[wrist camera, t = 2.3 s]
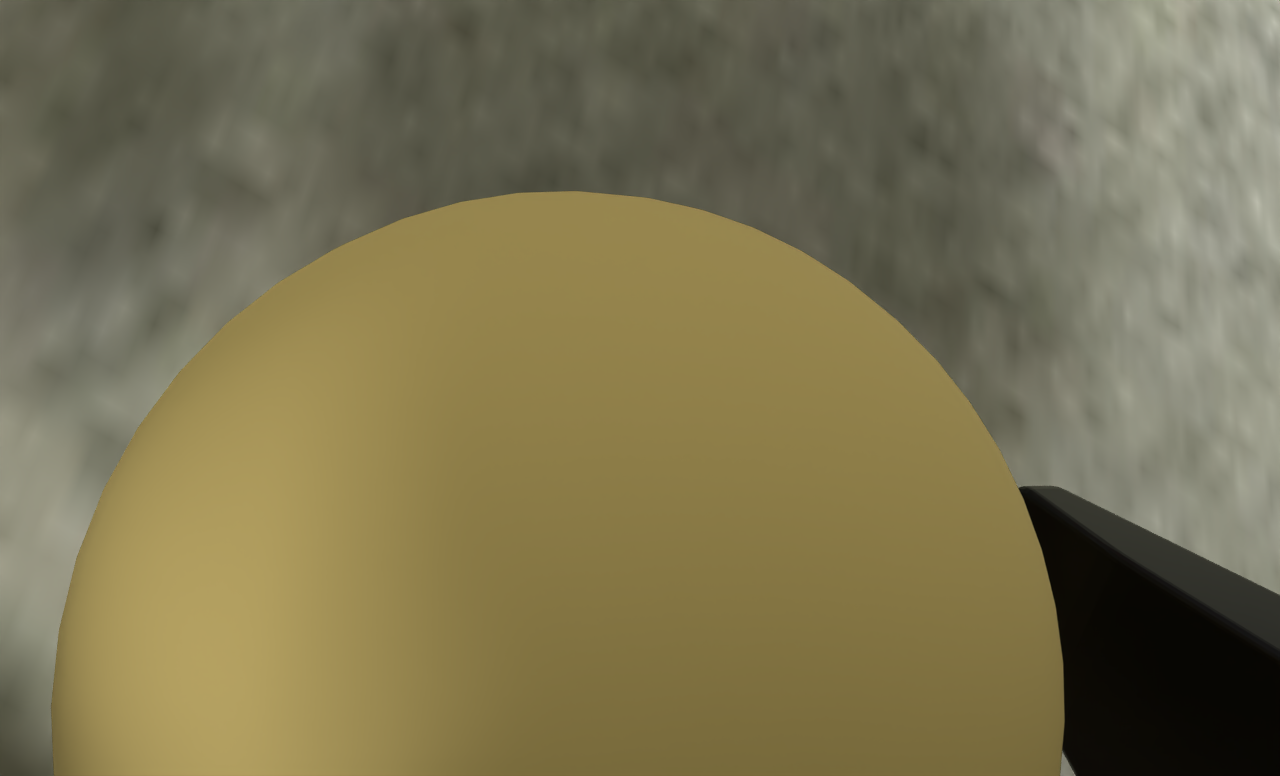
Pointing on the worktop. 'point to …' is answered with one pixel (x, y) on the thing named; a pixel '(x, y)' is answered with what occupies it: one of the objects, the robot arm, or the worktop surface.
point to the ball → (560, 525)
